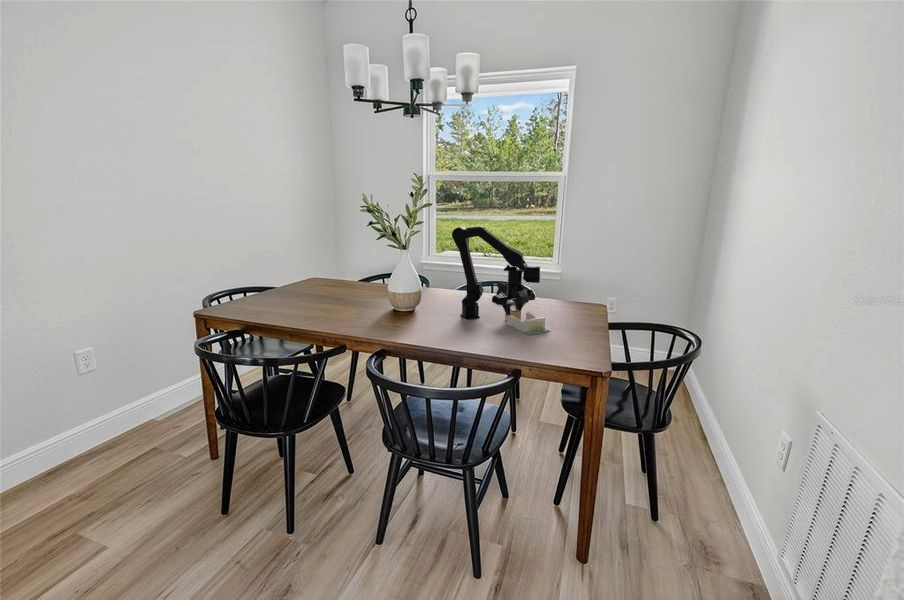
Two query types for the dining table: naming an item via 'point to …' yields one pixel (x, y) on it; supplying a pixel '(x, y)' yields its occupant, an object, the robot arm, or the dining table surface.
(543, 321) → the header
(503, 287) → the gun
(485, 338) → the dining table surface
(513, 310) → the orange base grey top
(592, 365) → the dining table surface
